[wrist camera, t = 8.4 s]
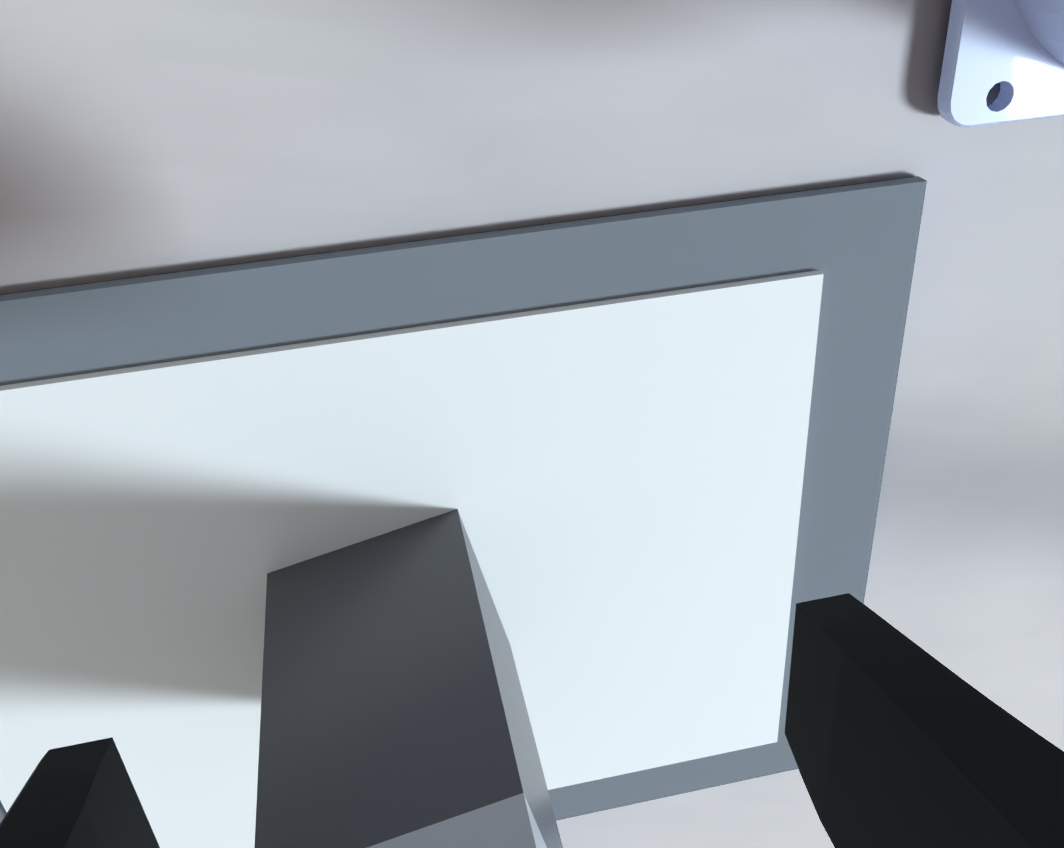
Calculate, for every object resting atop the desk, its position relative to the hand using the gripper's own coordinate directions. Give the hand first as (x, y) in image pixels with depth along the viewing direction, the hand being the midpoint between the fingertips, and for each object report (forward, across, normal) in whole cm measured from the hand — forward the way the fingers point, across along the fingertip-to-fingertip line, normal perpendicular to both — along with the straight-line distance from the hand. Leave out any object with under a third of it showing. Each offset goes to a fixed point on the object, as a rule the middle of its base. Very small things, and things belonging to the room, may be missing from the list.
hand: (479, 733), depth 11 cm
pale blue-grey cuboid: (+9, +1, +6) cm, 11 cm away
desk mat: (+9, +1, +6) cm, 11 cm away
